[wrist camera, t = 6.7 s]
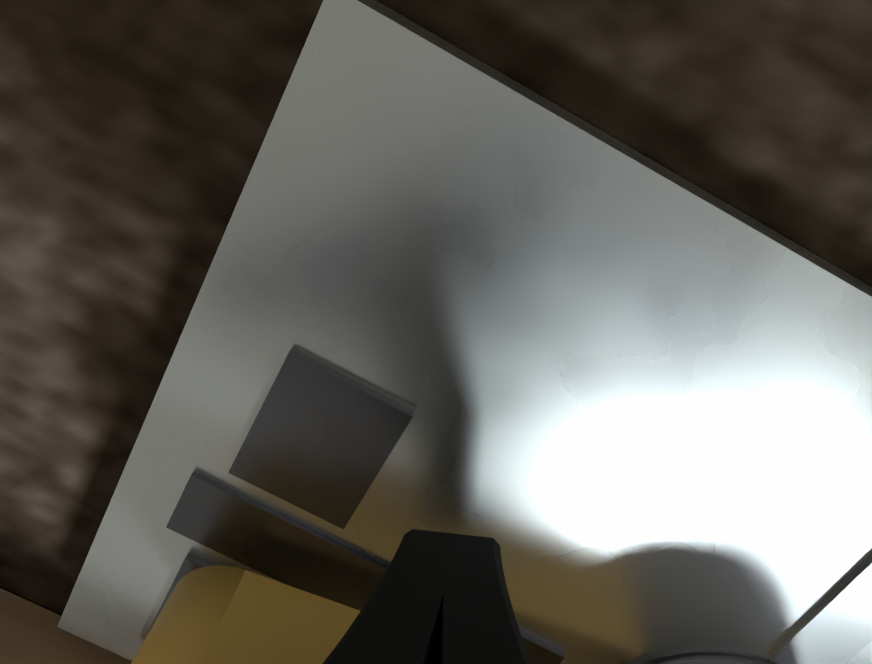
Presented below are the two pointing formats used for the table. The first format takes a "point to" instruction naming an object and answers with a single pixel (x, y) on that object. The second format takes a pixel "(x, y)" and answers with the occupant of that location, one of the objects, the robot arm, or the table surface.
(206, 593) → the handle
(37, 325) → the table surface
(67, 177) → the table surface
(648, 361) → the base
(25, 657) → the parts frame
